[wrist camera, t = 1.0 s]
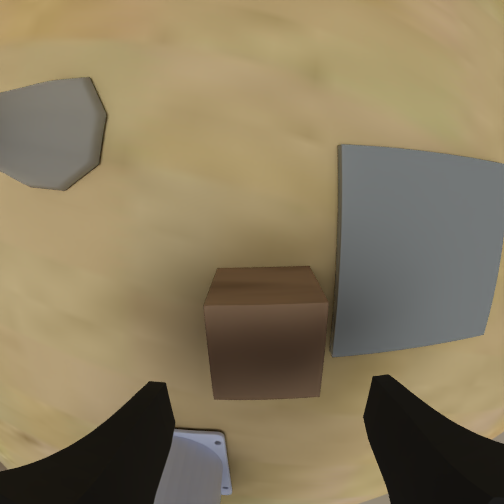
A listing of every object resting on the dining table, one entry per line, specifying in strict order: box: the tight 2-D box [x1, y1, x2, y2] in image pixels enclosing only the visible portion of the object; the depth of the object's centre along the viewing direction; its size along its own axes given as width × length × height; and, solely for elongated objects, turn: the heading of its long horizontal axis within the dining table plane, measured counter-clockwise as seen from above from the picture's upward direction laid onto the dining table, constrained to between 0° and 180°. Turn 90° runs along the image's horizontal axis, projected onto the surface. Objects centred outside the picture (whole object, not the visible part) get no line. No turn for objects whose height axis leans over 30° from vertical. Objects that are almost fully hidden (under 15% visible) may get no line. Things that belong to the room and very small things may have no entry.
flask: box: [0, 77, 106, 191], centre depth 10 cm, size 7×7×10 cm
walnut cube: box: [204, 266, 329, 400], centre depth 15 cm, size 5×5×5 cm
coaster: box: [330, 144, 504, 357], centre depth 16 cm, size 12×12×1 cm
